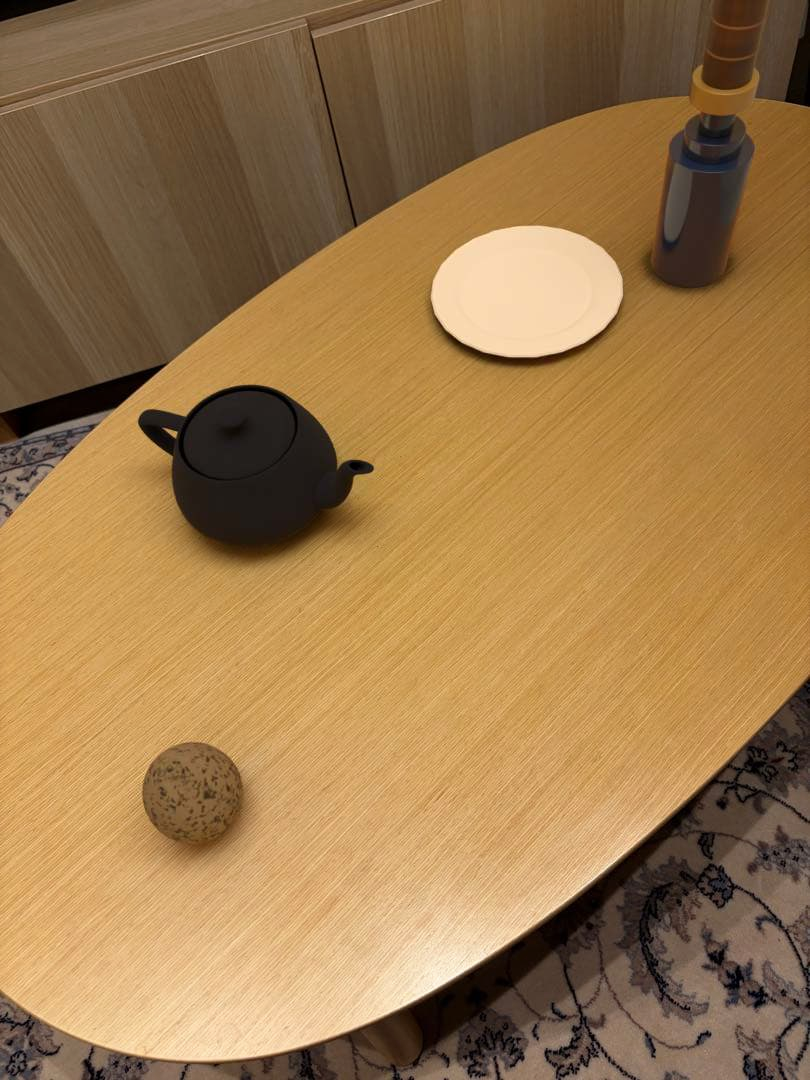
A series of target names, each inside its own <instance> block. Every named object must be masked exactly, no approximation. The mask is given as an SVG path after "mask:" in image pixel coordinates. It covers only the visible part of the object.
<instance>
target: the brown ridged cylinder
mask: <svg viewBox="0 0 810 1080" xmlns="http://www.w3.org/2000/svg"><path fill="white" fill-rule="evenodd" d="M769 4H770V0H713V5H712V10H711V14H710V23H709V28H708V35H707V40H706V43H705V51H704V55H703V56H704V57H703V62H702V64H703V67H702V73H701V78H702V80H703V82H704V83H705V84H707V85H708V86H710V87H713V88H716V89H722V90H730V89H737V88H740V87H743V86H745V85H746V84H748V83H749V82H750V80H751V78H752V75H753V70H754V67H755V66H756V62H757V57H758V53H759V50H760V46H761V45H760V44H761V39H762V35H763V30H764V28H765V27H764V26H765V22H766V19H767V15H768V9H769Z"/></svg>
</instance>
